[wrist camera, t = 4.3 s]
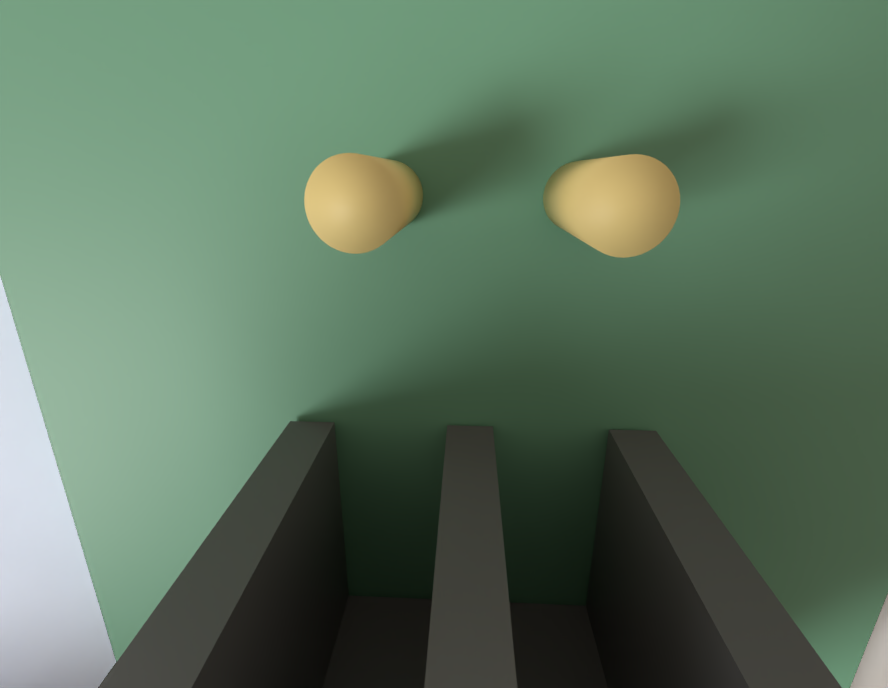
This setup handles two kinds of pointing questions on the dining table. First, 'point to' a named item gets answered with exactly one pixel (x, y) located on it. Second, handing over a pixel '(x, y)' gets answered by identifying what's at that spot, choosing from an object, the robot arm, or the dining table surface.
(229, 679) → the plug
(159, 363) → the board
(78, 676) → the dining table surface
